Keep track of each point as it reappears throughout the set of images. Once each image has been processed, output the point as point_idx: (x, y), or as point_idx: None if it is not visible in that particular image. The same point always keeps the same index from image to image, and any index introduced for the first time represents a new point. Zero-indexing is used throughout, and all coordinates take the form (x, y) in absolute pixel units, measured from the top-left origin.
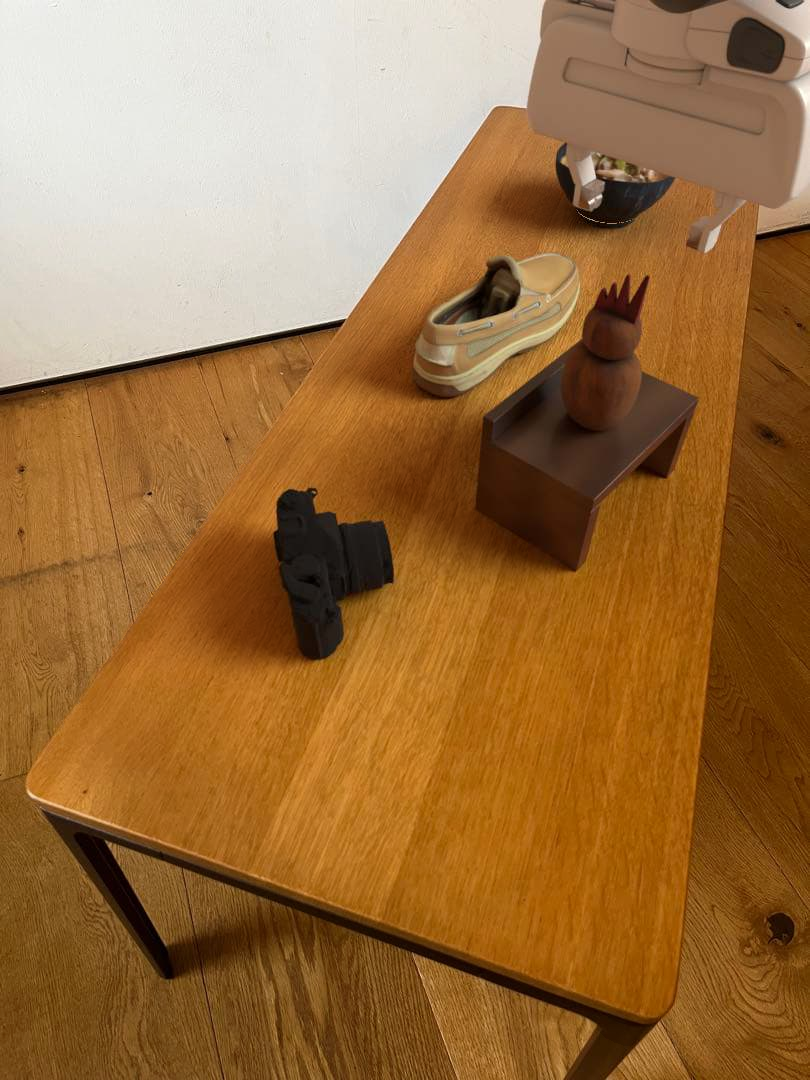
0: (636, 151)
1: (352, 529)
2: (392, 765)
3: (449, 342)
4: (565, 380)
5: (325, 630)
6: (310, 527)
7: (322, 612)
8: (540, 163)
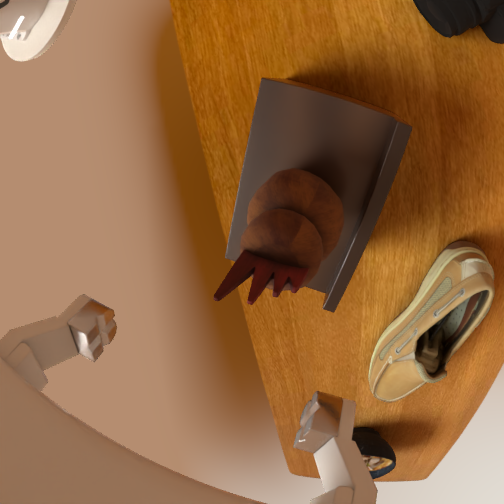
0: (148, 497)
1: (464, 2)
2: None
3: (469, 279)
4: (335, 200)
5: None
6: None
7: None
8: (404, 458)
